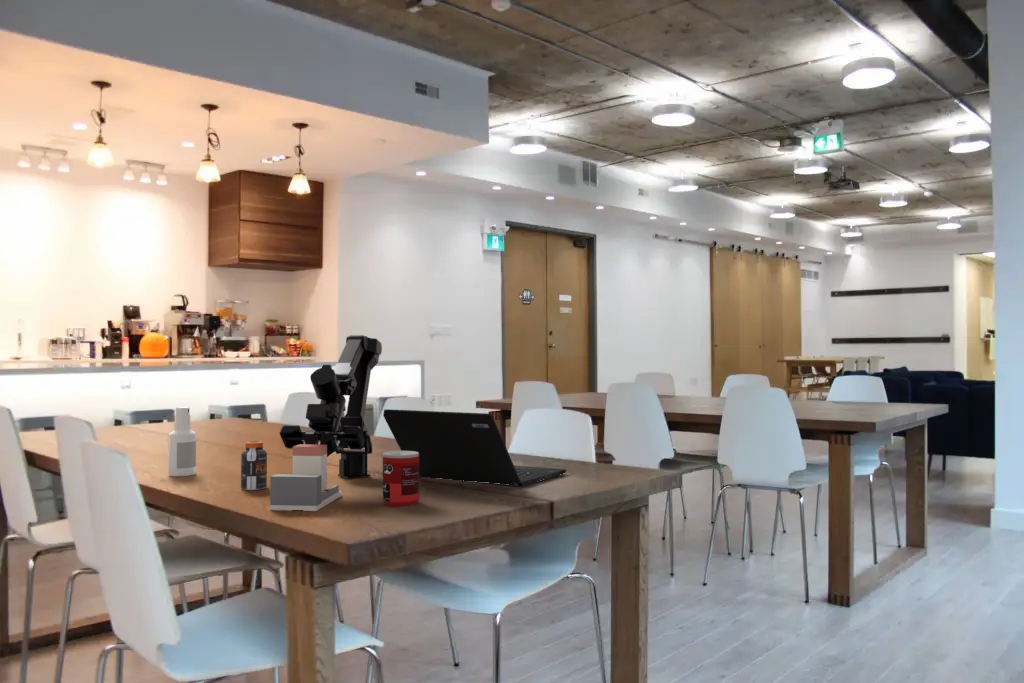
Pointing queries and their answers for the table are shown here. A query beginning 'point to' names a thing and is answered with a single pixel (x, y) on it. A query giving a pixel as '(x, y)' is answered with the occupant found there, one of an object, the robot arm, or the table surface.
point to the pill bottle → (254, 466)
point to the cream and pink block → (311, 461)
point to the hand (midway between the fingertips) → (313, 466)
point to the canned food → (400, 478)
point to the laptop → (460, 447)
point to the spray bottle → (182, 446)
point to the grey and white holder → (300, 492)
